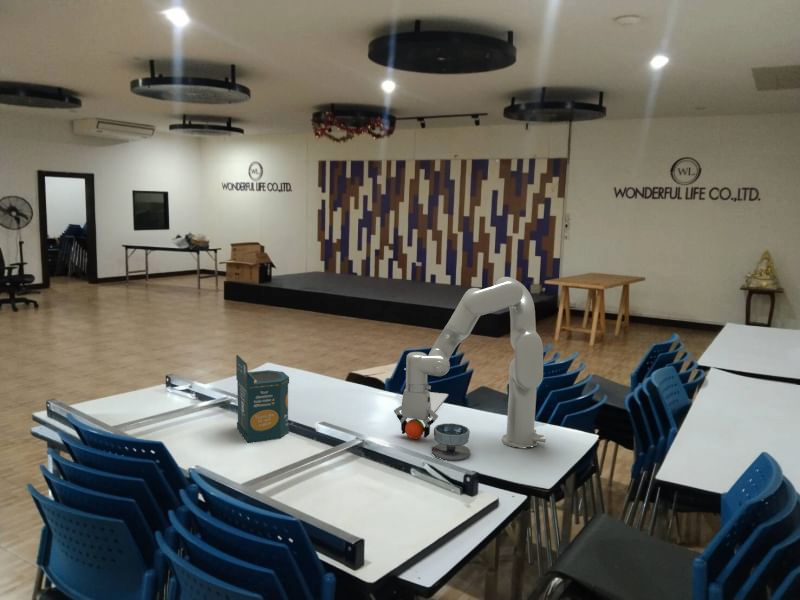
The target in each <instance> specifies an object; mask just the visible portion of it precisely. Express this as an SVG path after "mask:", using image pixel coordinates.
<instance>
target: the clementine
mask: <svg viewBox="0 0 800 600" xmlns="http://www.w3.org/2000/svg"><path fill="white" fill-rule="evenodd" d="M424 427H425V424H424V422H423V421H422V420H418V419H412V418H411V419H409V420H408V421H407V424H406V426H405V432H406V433H405V434H406V436H407V437H409V439H413V440H416V439H419V438H421V437H422V436H424Z"/></svg>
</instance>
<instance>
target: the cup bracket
mask: <svg viewBox="0 0 800 600" xmlns="http://www.w3.org/2000/svg"><path fill="white" fill-rule="evenodd" d="M470 433H471V432H470V429H469V428H468V427H467V426H464V424H463V425H462V424H458V423H448V422H447V423H440V424H437V425H436V426H435V427H434V428H433V437H434V438H433V439H434V442H436V444H435V445H433V446H432V447H431V454H433V455H434V456H435V458H436V457H438V458H441V459H443V460H442V461H445V460H447V461H446V462H461V461H465V460H467V459H469V458H470V457H471V450H470V448H469V447H467V446H465V445H466V444H467V443H469V439H470ZM433 455H432V456H433ZM434 456H433V457H434ZM469 456H470V457H469ZM438 458H437V459H438ZM441 459H440V460H441Z"/></svg>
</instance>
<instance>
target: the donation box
mask: <svg viewBox="0 0 800 600" xmlns="http://www.w3.org/2000/svg"><path fill="white" fill-rule="evenodd" d="M235 357H236V359H235V360H236V362H235V364H236V365H235V368H236V369H235V370H236V376H235V377H236V381H237V422H236V429H237V431H238V430H239V431H238V432H239V434H240V435H241V434H242V435H241V436H242V438H243V437H244V438H243V439H244V441H245V440H246V441H245V442H246V444H247V443H248V444H254V443H259V442H266V441H272V440H280V439H283V438H284V437H285V436H286V435H288V434H290V426H289V384H290V376H288V375H287V374H286V373H285V372H284V371H280V370H270V369H267V370H258V371H248V364H247V362H245V361H244V359H243V358H242V357H241V356H240V355H238V354H236V356H235ZM253 442H254V443H253Z"/></svg>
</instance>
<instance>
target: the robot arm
mask: <svg viewBox="0 0 800 600" xmlns="http://www.w3.org/2000/svg"><path fill="white" fill-rule="evenodd" d="M507 308H509V316H510V317H509V318H510V345H511V347H512V348H513V351H514V357H513V359H512V360H511V361H510V363H509V367H508V402H507V403H508V404H507V416H506V417H507V419H506V420H507V422H506V433H505V434H504V435H502V436H501V442H502V444H504V445H507V446H508V445H509V447H511V446H512V448H515V447H531V446H535V445H536V444H537V443H539V442H540V443H544V444H545V443H546V442H547V437H546V436H544V435H543V434H538V433H537V429H535V423H536V422H535V418H536V404H537V403H536V402H537V388H538V387H539V386H540V385H541V383H542V381H543V379H544V345H543V341H542V338H541V336H540V335H539V333H538V332H537V326H536V310H535V303H534V299H533V297H532V295H531V293H530V291H529V290H528V289H527V288H526V286H525V285H524V284H523V283H521V281H518V280H517V279H515V278H513V277H511V276H502V277H500V278H499V279H498V280H496V282H495V284H494V285H491V286H489V287H486V288H483V289H482V288H478V287H471V288H469V289H467V291H465V293H464V294H463V296H462V298H461V300H460V301H459V302H458V305H457V306H456V308H455V310H454V312H453V313H452V315H451V317H450V319H448V322H447V324H446V325H445V326H444V328H443V330H442V331H441V333H440V335H439V336H438V337H437V339H436V341H435V342H434V344H433V346H432V347H431V350H430V351H429V353H428V354H427V353H425V352H422V351H411V352H409V353H408V354H407V355H406V361H405V364H406V367H405V388H404V390H403V394H402V399H401V400H402V401H401V405H400V406H399V407H397V408H395V409H394V410H393V412H394V414H395V416H396V418H397V419H398V420H399V422H400V424H401V425H400V430H401V434H402V435H405V434H406V432H405V426H406V424H407V422H408V421H407V419H411V420H412V419H417V420H419V421H422V423H423V425H424V433H423V438H427V437H428V436H430V435H431V425H433V423H435V422H436V420H437V419H438V418H439V415H438V414H437V413H436V412H433V411H432V410H431V400H430V393H429V392H430V390H431V387H432V386H431V385H429V384H428V375H429V376H433V377H434V376H435V377H442V376H445V375H446V374H447V373H448V372H449V371H450V367H451V363H450V358H451V356H452V354H453V353H454V352H455V350H456V348H457V347H458V345H459V344H460V343H461V342H462V341H463V340H465V339H467V337H469V335H470V334H471V333H472V331H473V330H474V327H475V326H476V323H477V322H478V320H479V318H480V317H481V316H484V315H487V314H488V315H489V314H492V313H495V312H498V311H500V310H501V311H502V310H504V309H507ZM400 411H401V412H400ZM430 416H431V420H430V418H428V417H430ZM537 445H538V444H537ZM537 445H536V446H537ZM536 446H535V447H536Z"/></svg>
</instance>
